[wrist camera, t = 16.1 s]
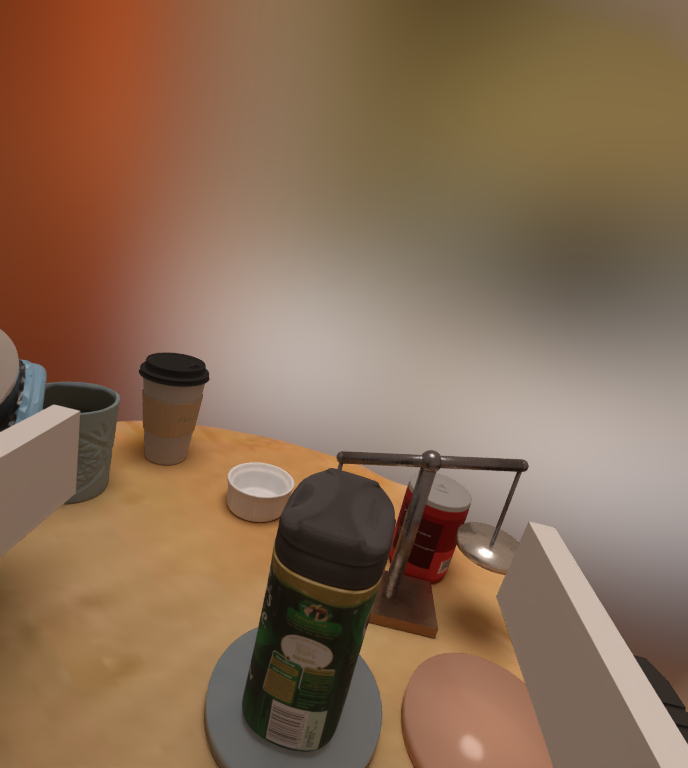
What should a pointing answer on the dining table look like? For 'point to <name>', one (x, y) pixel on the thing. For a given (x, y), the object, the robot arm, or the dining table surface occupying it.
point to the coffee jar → (317, 607)
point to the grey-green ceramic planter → (89, 432)
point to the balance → (475, 540)
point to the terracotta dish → (470, 716)
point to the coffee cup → (171, 404)
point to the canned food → (434, 528)
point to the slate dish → (266, 760)
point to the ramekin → (258, 491)
